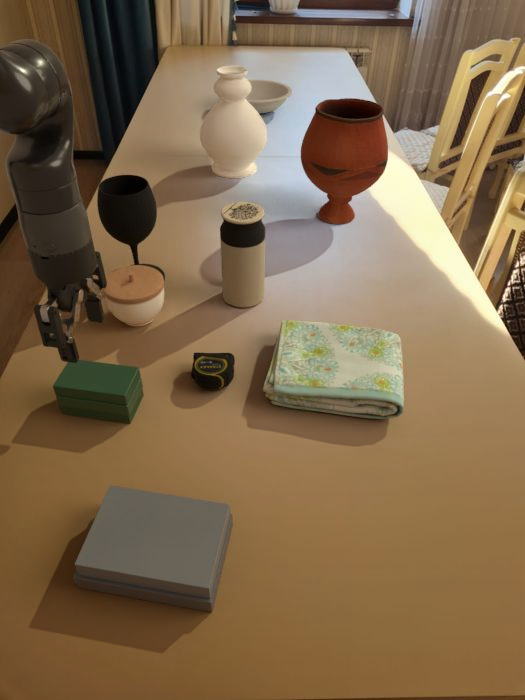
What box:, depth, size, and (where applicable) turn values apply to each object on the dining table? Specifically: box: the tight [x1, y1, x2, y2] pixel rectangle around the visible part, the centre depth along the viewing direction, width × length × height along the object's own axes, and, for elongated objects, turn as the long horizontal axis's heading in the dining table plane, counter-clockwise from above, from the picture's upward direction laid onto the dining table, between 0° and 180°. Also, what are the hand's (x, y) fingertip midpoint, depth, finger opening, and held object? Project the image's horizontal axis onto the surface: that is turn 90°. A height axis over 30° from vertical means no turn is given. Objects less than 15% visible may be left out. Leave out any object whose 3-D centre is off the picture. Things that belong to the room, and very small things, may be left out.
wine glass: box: [96, 174, 166, 281], centre depth 102 cm, size 10×10×20 cm
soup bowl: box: [245, 79, 293, 114], centre depth 183 cm, size 24×24×7 cm
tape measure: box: [190, 352, 236, 391], centre depth 86 cm, size 7×7×4 cm
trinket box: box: [101, 264, 165, 327], centre depth 97 cm, size 11×11×9 cm
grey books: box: [72, 484, 234, 613], centre depth 64 cm, size 16×11×5 cm
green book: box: [52, 359, 142, 405], centre depth 80 cm, size 11×6×2 cm, turn 80°
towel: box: [262, 319, 405, 420], centre depth 87 cm, size 18×21×5 cm
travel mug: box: [219, 201, 266, 308], centre depth 99 cm, size 8×8×18 cm
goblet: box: [300, 97, 389, 225], centre depth 121 cm, size 19×19×25 cm
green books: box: [55, 377, 145, 425], centre depth 82 cm, size 11×6×4 cm, turn 80°
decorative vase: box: [199, 65, 268, 179], centre depth 141 cm, size 18×18×25 cm
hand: (84, 340), depth 74 cm, fingers open, 8 cm apart
